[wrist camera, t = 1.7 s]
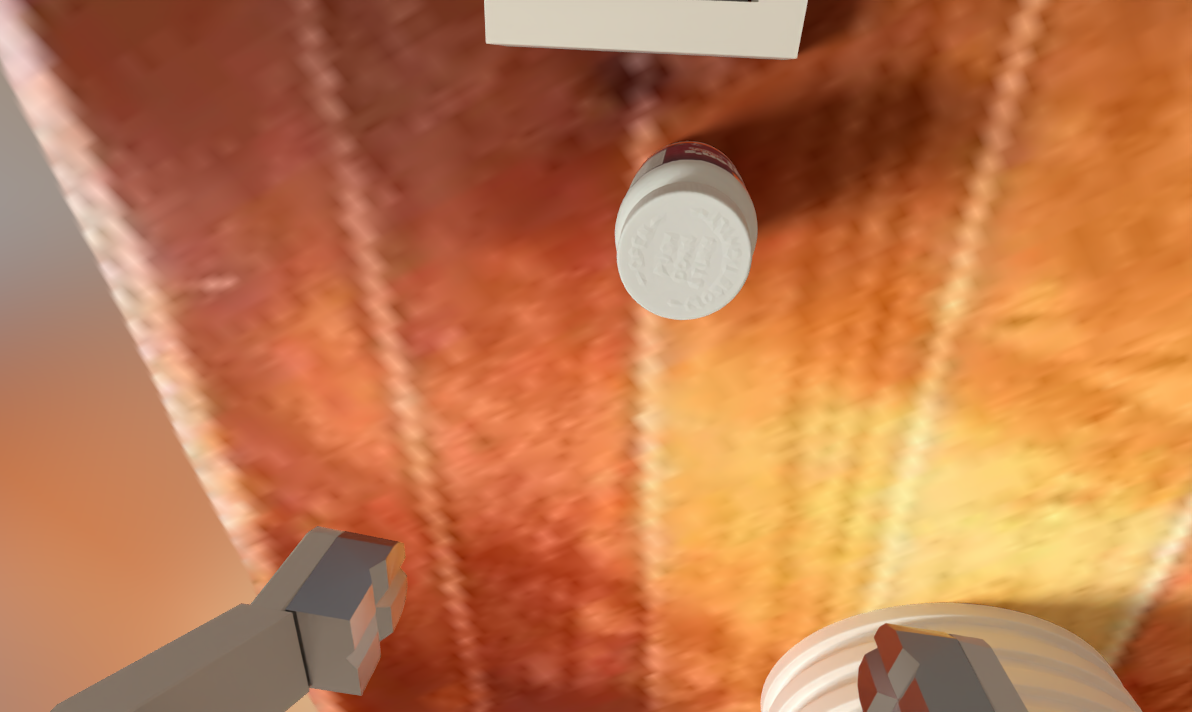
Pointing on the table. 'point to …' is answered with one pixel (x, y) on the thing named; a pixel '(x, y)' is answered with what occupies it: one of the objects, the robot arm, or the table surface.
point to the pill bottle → (685, 232)
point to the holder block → (651, 26)
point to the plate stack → (1020, 641)
